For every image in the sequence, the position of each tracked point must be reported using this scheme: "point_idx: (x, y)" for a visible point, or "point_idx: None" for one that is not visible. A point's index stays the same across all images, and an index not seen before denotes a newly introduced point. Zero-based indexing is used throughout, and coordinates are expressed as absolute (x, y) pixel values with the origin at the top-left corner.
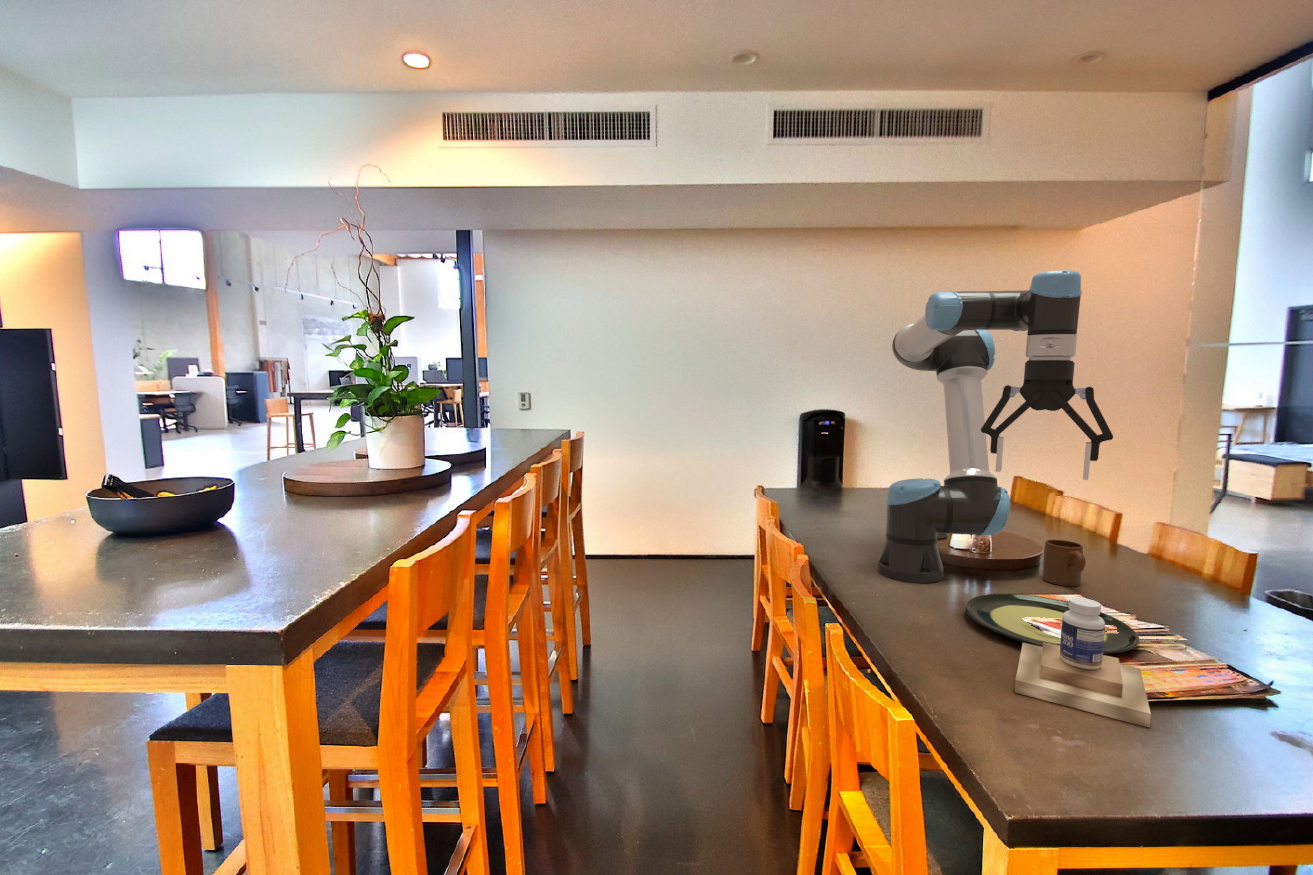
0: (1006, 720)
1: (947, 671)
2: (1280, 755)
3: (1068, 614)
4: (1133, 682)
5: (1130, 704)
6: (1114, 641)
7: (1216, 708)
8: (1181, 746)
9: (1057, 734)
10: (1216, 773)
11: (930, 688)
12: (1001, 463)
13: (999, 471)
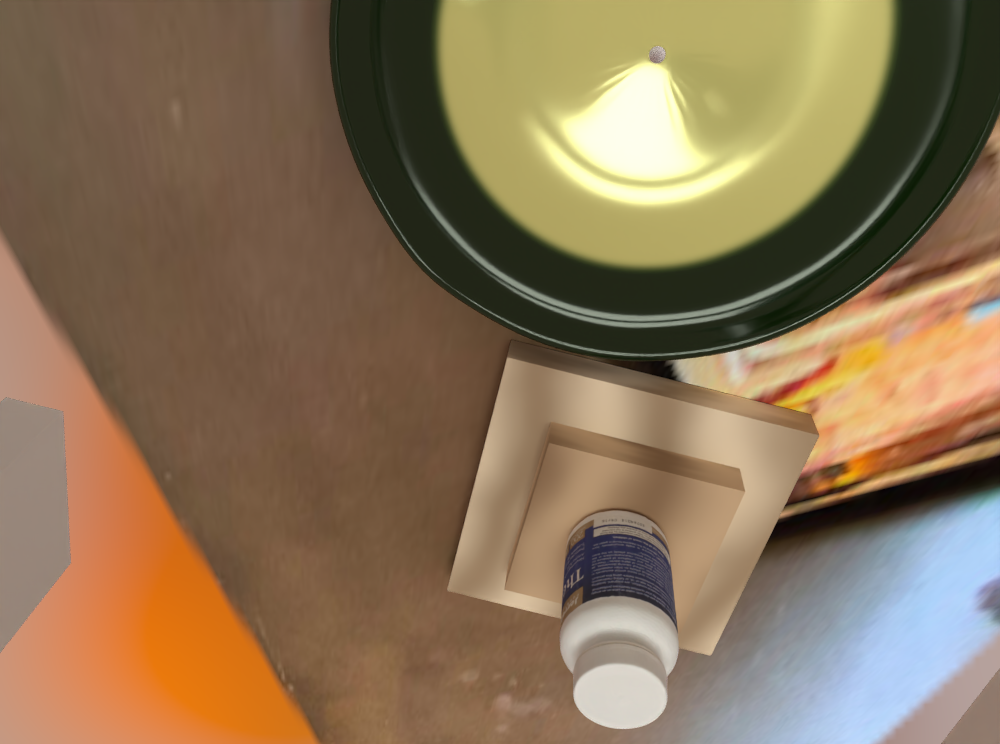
0: (420, 671)
1: (301, 513)
2: (928, 659)
3: (571, 661)
4: (749, 525)
5: (684, 629)
6: (877, 159)
7: (935, 511)
8: (737, 674)
9: (508, 690)
10: (751, 732)
11: (270, 598)
12: (2, 520)
13: (62, 563)
